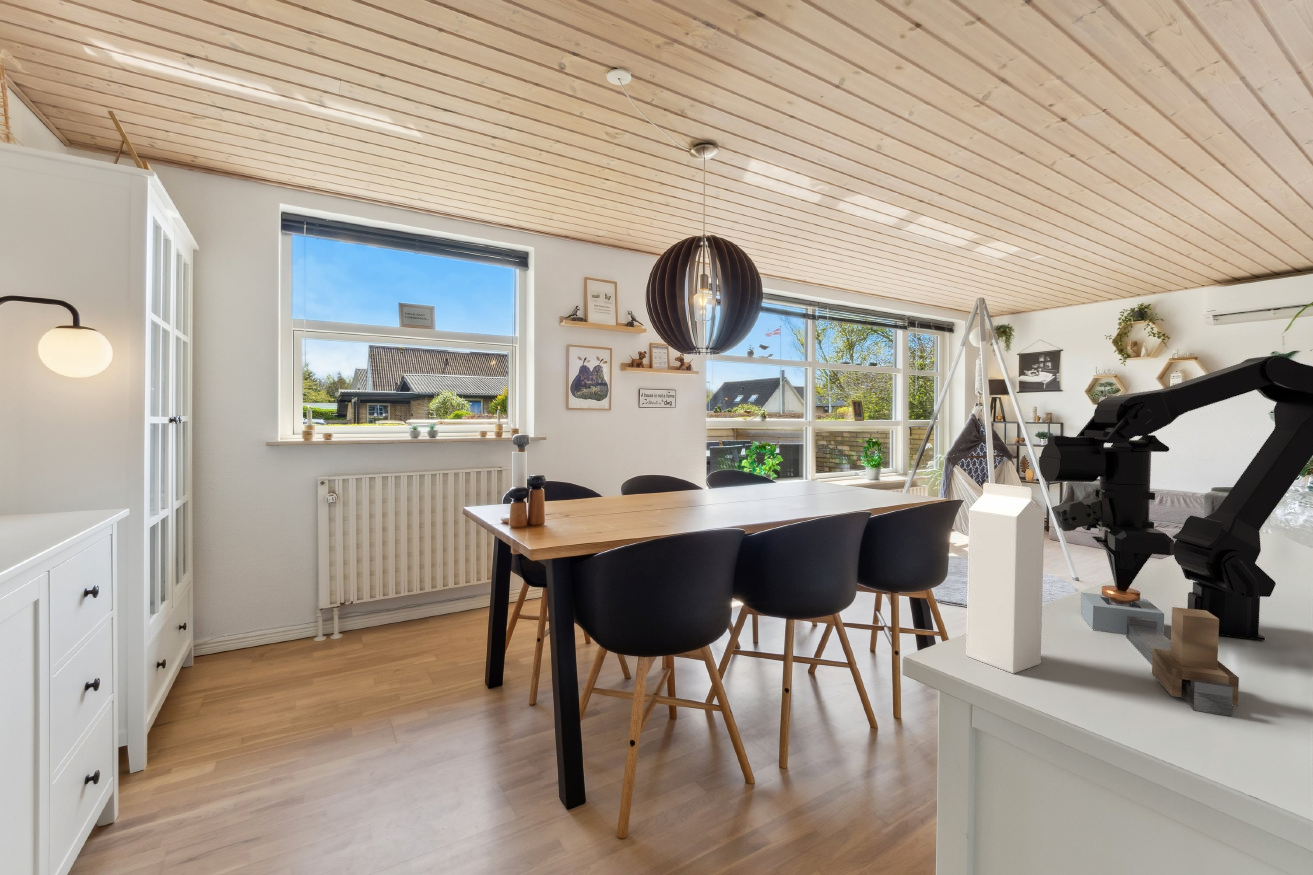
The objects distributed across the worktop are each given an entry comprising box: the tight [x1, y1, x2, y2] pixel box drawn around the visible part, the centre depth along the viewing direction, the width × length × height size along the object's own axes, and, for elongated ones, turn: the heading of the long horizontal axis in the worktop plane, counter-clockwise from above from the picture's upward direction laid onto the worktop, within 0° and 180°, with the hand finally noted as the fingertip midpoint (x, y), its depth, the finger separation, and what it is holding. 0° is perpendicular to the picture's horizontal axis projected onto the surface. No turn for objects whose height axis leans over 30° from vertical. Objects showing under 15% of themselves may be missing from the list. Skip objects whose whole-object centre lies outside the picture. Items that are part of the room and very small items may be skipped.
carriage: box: [1151, 606, 1240, 707], centre depth 64 cm, size 5×6×8 cm
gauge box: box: [1080, 591, 1165, 636], centre depth 85 cm, size 8×7×4 cm
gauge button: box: [1101, 584, 1141, 607], centre depth 85 cm, size 4×4×4 cm
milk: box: [965, 482, 1045, 675], centre depth 73 cm, size 6×6×22 cm
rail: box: [1125, 616, 1233, 717], centre depth 70 cm, size 3×22×3 cm, turn 156°
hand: (1121, 589), depth 85 cm, fingers closed, pressing on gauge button
